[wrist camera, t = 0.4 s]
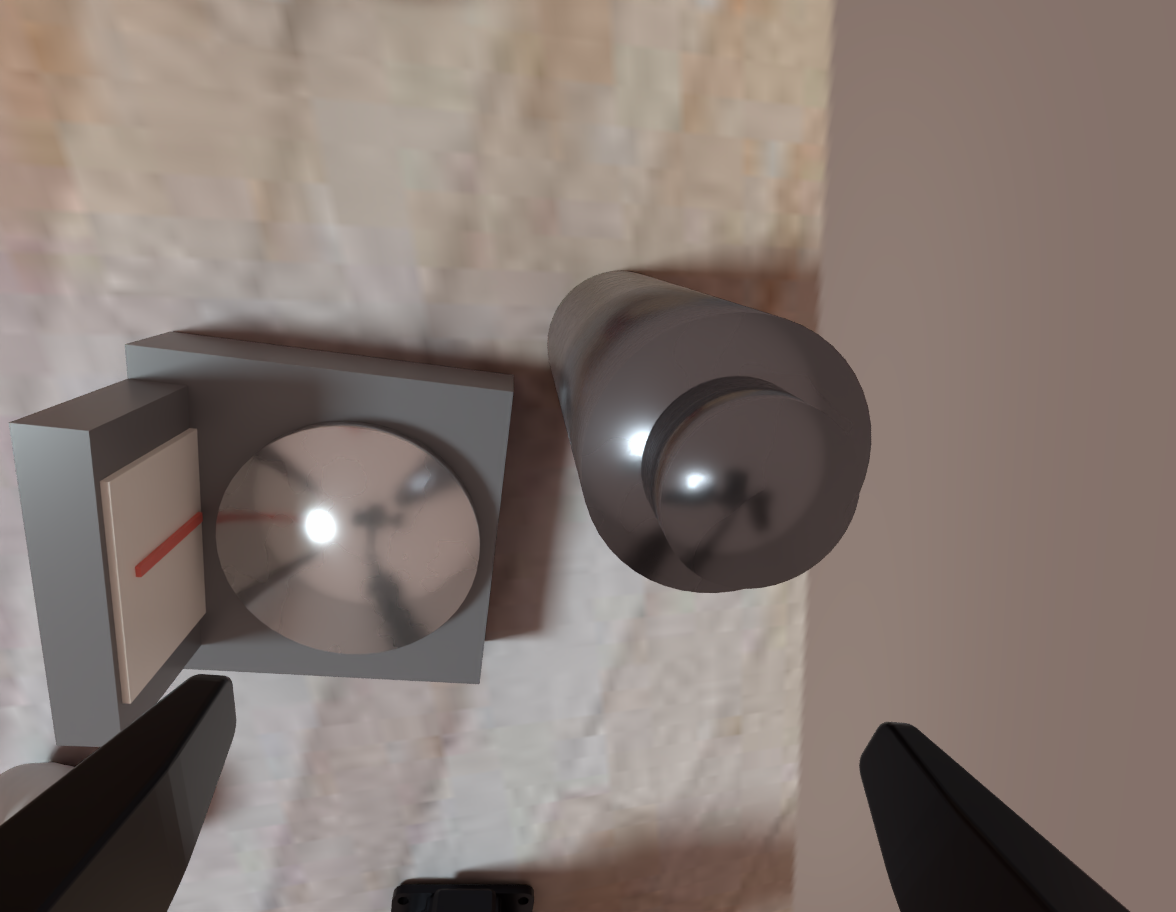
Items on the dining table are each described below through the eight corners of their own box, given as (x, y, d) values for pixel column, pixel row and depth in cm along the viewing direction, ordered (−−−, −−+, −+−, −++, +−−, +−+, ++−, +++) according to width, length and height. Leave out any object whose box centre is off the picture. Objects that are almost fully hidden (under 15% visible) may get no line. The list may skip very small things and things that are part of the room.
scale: (482, 642, 25) (470, 785, 19) (188, 623, 24) (60, 774, 17) (513, 375, 22) (512, 435, 15) (170, 331, 20) (2, 378, 13)
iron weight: (674, 422, 23) (868, 652, 10) (538, 405, 22) (568, 633, 10) (702, 282, 21) (973, 351, 9) (557, 260, 21) (623, 300, 8)
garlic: (-32, 784, 25) (-166, 918, 20) (66, 712, 24) (-47, 832, 19) (94, 864, 27) (0, 1004, 22) (187, 800, 26) (112, 929, 21)
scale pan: (469, 650, 22) (467, 660, 22) (227, 635, 21) (220, 646, 20) (492, 436, 20) (491, 442, 19) (220, 406, 18) (210, 411, 18)
